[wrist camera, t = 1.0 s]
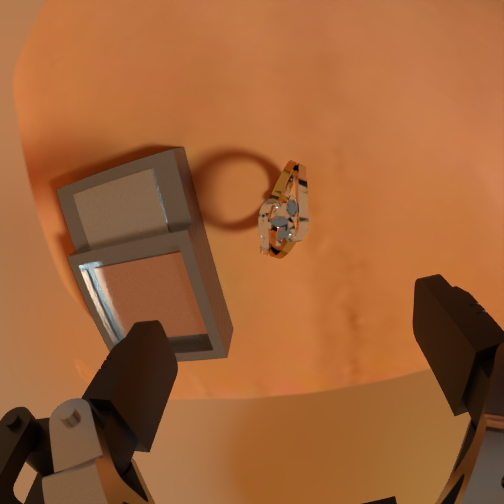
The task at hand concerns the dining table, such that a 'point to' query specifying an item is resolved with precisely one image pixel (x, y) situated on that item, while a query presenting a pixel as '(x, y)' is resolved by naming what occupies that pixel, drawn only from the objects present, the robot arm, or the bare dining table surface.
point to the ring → (284, 213)
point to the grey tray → (147, 255)
